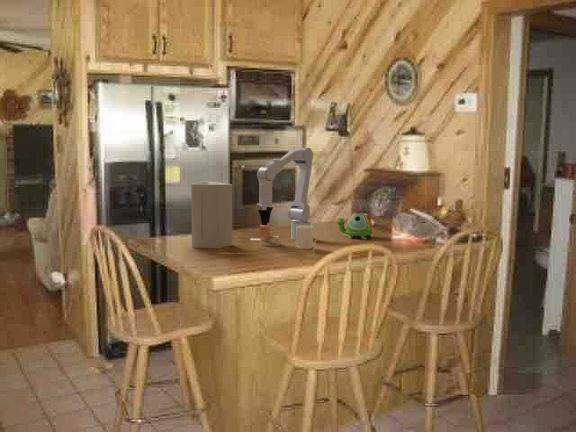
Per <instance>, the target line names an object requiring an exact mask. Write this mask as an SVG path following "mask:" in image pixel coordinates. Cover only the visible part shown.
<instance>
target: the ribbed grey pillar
mask: <svg viewBox="0 0 576 432" xmlns="http://www.w3.org/2000/svg"><path fill="white" fill-rule="evenodd" d="M190 192H191V201H190V202H191V247H192V248H197V249H198V248H199V249H200V248H201V249H222V248H223V247H231V246H233V184H231V183H225V182H218V181H217V182H216V181H198V182H195V183H194V182H193V183H191V191H190Z"/></svg>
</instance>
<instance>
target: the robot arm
mask: <svg viewBox="0 0 576 432" xmlns="http://www.w3.org/2000/svg"><path fill="white" fill-rule="evenodd" d="M314 155H315V154H314V152H313V150H312V149H311V147H295V146H294V147H292V148H290V149H289V150H288V152H287V153H285V155H283V156H282V157H281V158H273V159H272V161H271V162H269V163H266V164H265V166H262V167H260V168H258V170H257V173H256V177H257V179H258V183H259V187H258V188H259V191H258V192H259V201H258V203H256V206H259V207H260V209H257V211H258V214H259V217H260V221H261V225H268V224H269V222H270V220H271V219H270V218H271V214H272V211H273V209H274V207H273V180H274V179H275V178H276V176H277V175H278V174H279V173H280V172H282V171H283V170H284V168H285V166H286V165H287V164H289V163H291V162H293V163H295V164H296V165H297V166H298V167H299V174H298V179H297V180H298V181H297V184H296V192H295V199H294V201H292V202H291V203H290V205H289V207H288V208H289V209H288V211H287V217H288V219H289V221H290V222H291V224H290V233H291V234H290V237H291V238H290V239H292V240H295V241H296V226H299V225H309V226H311V221H309V220H310V217H311V206H310V204H308V202H307V199H308V192H309V187H310V186H309V185H310V181H311V174H312V167H313V159H314Z"/></svg>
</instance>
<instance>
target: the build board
mask: <svg viewBox="0 0 576 432" xmlns="http://www.w3.org/2000/svg"><path fill="white" fill-rule="evenodd" d="M249 241H260V238H255V237H254V238H252V237H251V238H250V239H249ZM265 246H270V247H275V246H274V245H265ZM279 246H280V244H279V245H278V246H277V247H279Z"/></svg>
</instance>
